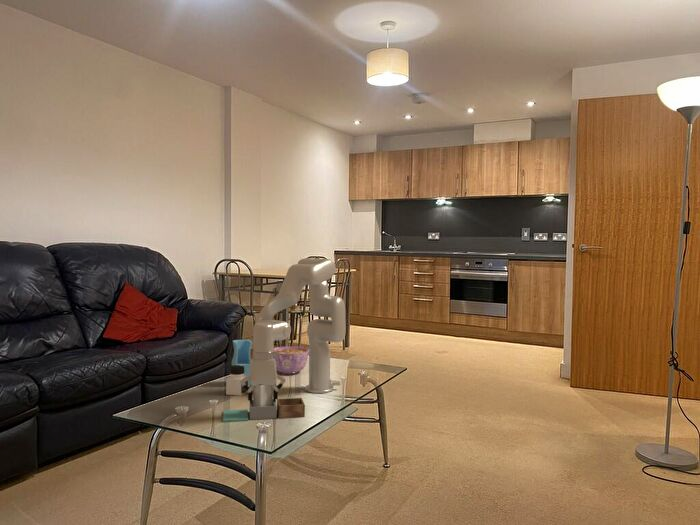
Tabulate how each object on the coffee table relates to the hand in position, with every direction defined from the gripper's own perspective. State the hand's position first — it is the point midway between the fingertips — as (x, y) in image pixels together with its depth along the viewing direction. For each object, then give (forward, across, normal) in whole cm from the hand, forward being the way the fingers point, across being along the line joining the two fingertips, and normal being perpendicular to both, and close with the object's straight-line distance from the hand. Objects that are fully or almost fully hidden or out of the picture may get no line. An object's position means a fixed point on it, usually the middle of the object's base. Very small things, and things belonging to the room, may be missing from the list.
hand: (262, 401), depth 196 cm
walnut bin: (+5, -10, 0) cm, 12 cm away
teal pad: (+5, +10, 0) cm, 11 cm away
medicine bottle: (+5, +10, -32) cm, 34 cm away
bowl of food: (+5, -16, -67) cm, 69 cm away
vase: (+5, +8, -47) cm, 48 cm away
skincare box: (+5, 0, 0) cm, 5 cm away
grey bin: (+5, 0, 0) cm, 5 cm away
